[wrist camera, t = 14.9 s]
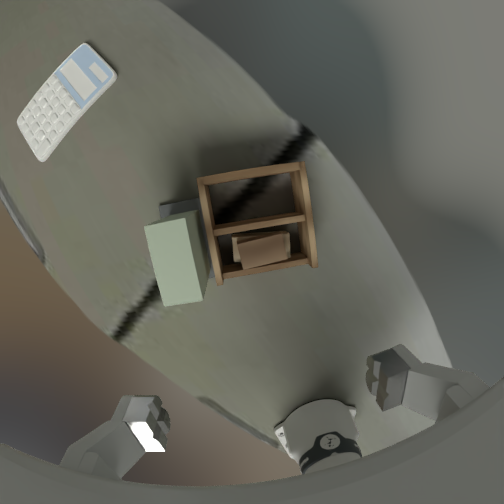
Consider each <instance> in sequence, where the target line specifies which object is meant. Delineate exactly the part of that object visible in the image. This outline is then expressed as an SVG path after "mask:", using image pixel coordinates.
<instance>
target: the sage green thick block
mask: <svg viewBox="0 0 504 504" xmlns="http://www.w3.org/2000/svg"><path fill="white" fill-rule="evenodd" d="M144 228H145V233H146V238H147V242H148V247H149V251H150V255H151V259H152V263H153V267H154V271H155V275H156V279H157V283H158V286H159V290H160V294H161V297H162V301H163V304H164V306H171V305H178V304H184V303H191V302H197V301H203V299H204V295H205V291H206V286H207V282H208V278H209V274H210V270H211V268H210V263H209V258H208V254H207V249H206V244H205V239H204V234H203V228H202V223H201V218H200V213H199V210H194V211H188V212H183V213H179V214H174V215H169V216H167V217H164V218H162V219H160V220H157V221H155V222H153V223H151V224H148V225H146V226H144Z"/></svg>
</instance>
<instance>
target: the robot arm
mask: <svg viewBox="0 0 504 504" xmlns="http://www.w3.org/2000/svg"><path fill="white" fill-rule="evenodd" d="M366 365H367V366H368V368H369V370H368V371H367V372H366V383H367V387H368V389H369V391H370V393H371V394H372V395H375V396H376V402H377V404H378V405H379V407H380V408H381V410H382V411H386V410H388V409H391V408H393V407H396V406H398V405H401V404H402V406H404V407H406V408H409V409H411V410H413V411H415V412H417V413H419V414H422V415H424V416H426V417H428V418H430V419H433V420H435V421H436V422H435V424H434V425H432V426H430V427H429V428H427V429H425V430H423V431H421V432H419V433H417V434H415V435H413V436H411V437H409V438H407V439H405V440H403V441H401V442H398V443H396V444H394V445H392V446H389V447H387V448H385V449H382V450H380V451H377V452H375V453H372V454H370V455H367V456H364V457H362V454H361V450H360V448H359V446H358V445H357V443H356V441H357V439H358V436H359V431H358V429H357V426H356V424H355V421H354V417H355V414H356V409H355V407H351V406H346V405H344V404H343V403H342V402H340V401H337V400H333V399H323V400H317V401H313V402H310V403H308V404H305V405H303V406H301V407H299V408H298V409H296V410H295V411H294V412H292V413H291V414H290V415H289V416H288V418H287V419H286V420H285V421H284V422H283V423H281V424H279V425H278V426H276V427H275V428H274V431H275V434H276V435H277V437H278V439H279V440H280V442H281V444H282V445H283V447H284V448H285V450H286V452H287V453H288V455H289V456H290V458H292V459H295V461H296V462H297V463H298V464H299V466H300V471H301V473H302V475H299V476H294V477H289V478H283V479H278V480H271V481H265V482H257V483H249V484H239V485H226V486H166V485H153V484H143V483H134V482H127V481H123V480H122V479H121V478H122V477H123V475H124V474H125V473H126V472H127V471H128V470H129V469H130V468H131V467H132V466H133V465H134V464H135V463H136V462H137V461H138V460H139V459H140V458H141V457H142V456H143V455H144V453H145V452H146V451H165V449H166V444H167V437H166V436H165V435H166V434H167V433H168V432H169V430H170V418H169V414H168V412H167V411H166V410H165V409H164V408H162V407H161V405H162V401H161V399H160V397H159V396H156V395H135V396H129V395H124V396H123V397H122V398H121V400H120V402H119V404H118V406H117V408H116V410H115V412H114V414H113V417H112V419H111V421H106V422H105V423H104V424H102V425H101V426H99V427H98V428H97V429H95V430H93V431H92V432H90V433H89V434H87V435H86V436H84V437H83V438H82V439H80V440H78V441H77V442H75V443H74V444H72V445H70V446H69V447H68V449H67V451H66V453H65V455H64V457H63V459H62V461H61V463H60V465H59V466H58V465H55V464H52V463H49V462H46V461H43V460H41V459H38V458H35V457H33V456H30V455H28V454H25V453H23V452H21V451H18V450H16V449H14V448H11V447H10V446H8V445H5V444H1V443H0V504H504V377H503V378H501V379H500V380H499V381H498V382H497V383H495V384H494V385H493V386H492V387H489V386H488V385H486V384H485V383H484V382H483V381H482V380H481V379H480V378H479V377H477V376H476V375H475V374H474V373H472V372H466V371H462V370H457V369H452V368H448V367H443V366H439V365H434V364H430V363H426V362H425V363H423V364H422V363H421V362H420V361H419V360H418V359H417V358H416V357H415V356H414V355H413V354H412V353H411V352H410V351H409V350H408V349H407V348H406V347H405V346H404V345H402V344H399V345H397V346H394V347H392V348H390V349H387V350H385V351H382V352H379V353H376V354H373V355H371V356H368V358H367V364H366Z"/></svg>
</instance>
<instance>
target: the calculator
mask: <svg viewBox="0 0 504 504" xmlns="http://www.w3.org/2000/svg"><path fill="white" fill-rule="evenodd" d="M116 79H117V73H116V72H115V71H114V70H113V69H112V67H111V66H110V65H109V64H108V63H107V62H106V61H105V60H104V59H103V58H102V57H101V56H100V55H99V54H98V53H97V52H96V51H95V50H94V49H93V48H92V47H91V46H90V45H89V44H87V43H83V44H81V45H80V46H79V47H78V48H77V49H75V50H74V51H73V52H72V53H71V54H70V55H69V56H68V57H67V58H66V60H65V61H64V62H63V63H62V64H61V65H60V66H59V67H58V68H57V69H56V70H55V71H54V73H53V74H52V75H51V76H50V77H49V78H48V79H47V81H46V82H45V83H44V84H43V85H42V87H41V88H40V89H39V90H38V92H37V93H36V94H35V95H34V97H33V98H32V99H31V101H30V102H29V103H28V105H27V106H26V107H25V109H24V110H23V112H22V113H21V115H20V116H19V118H18V120H17V124H18V127H19V128H20V130H21V132H22V134H23V136H24V137H25V139H26V141H27V142H28V144H29V146H30V147H31V149H32V151H33V152H34V154H35V156H36V157H37V159H38V160H39V161H41V162H44V161H46V160H47V158H48V157H49V156H50V155H51V153H52V152H53V150H54V149H55V148H56V146H57V145H58V144H59V143H60V141H61V140H62V139H63V137H64V136H65V135H66V134H67V133H68V131H69V130H70V129H71V128H72V126H73V125H74V124H75V123H76V122H77V121H78V119H79V118H80V117H81V116H82V115H83V114H84V113H85V112H86V111H87V109H88V108H89V107H90V106H91V105H92V104H93V103H94V102H95V101H96V100H97V99H98V98H99V97H100V96H101V95H102V94H103V93H104V92H105V91H106V90H107V89H108V88H109V87H110V86H111V85H112V84H113V83H114V82H115V81H116Z"/></svg>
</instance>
